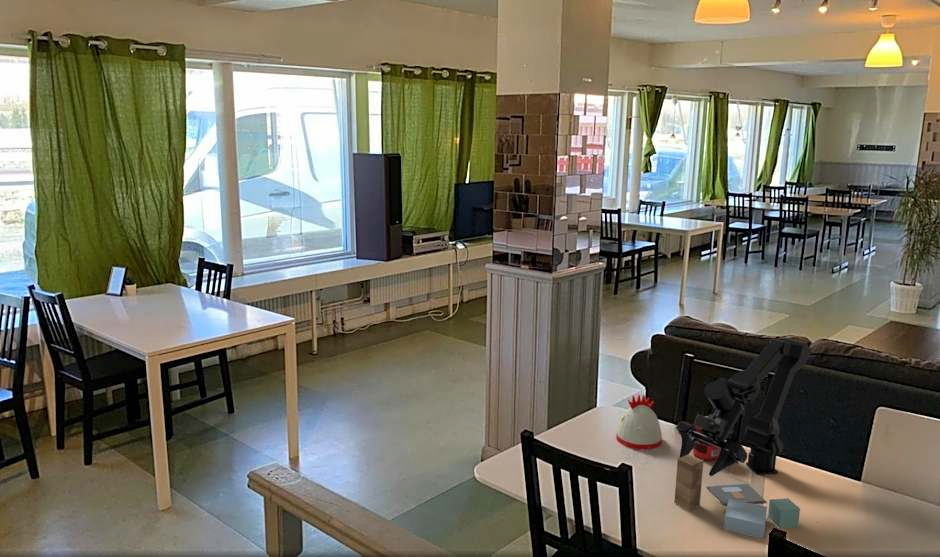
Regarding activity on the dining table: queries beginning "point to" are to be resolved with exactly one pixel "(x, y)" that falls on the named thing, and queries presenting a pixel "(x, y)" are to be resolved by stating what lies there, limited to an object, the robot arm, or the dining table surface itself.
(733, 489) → the card
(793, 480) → the dining table surface
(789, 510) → the teal cube
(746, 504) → the blue base block
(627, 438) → the kitchen timer
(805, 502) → the dining table surface
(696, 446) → the canned food
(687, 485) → the walnut pillar
